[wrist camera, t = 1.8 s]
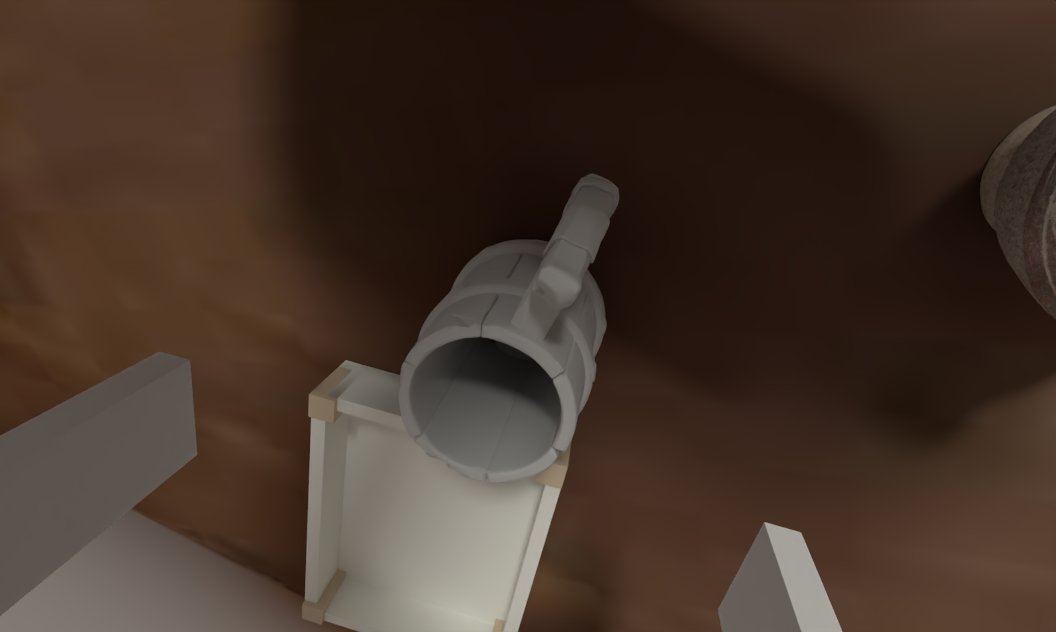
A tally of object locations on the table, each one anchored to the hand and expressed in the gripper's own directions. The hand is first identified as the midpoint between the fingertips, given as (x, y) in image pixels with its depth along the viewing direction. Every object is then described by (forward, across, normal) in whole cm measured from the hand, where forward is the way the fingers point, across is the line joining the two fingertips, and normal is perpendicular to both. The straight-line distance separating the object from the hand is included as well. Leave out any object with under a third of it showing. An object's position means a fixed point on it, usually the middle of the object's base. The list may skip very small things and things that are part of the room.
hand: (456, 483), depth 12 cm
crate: (+15, -4, -17) cm, 23 cm away
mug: (+16, 0, 0) cm, 16 cm away
